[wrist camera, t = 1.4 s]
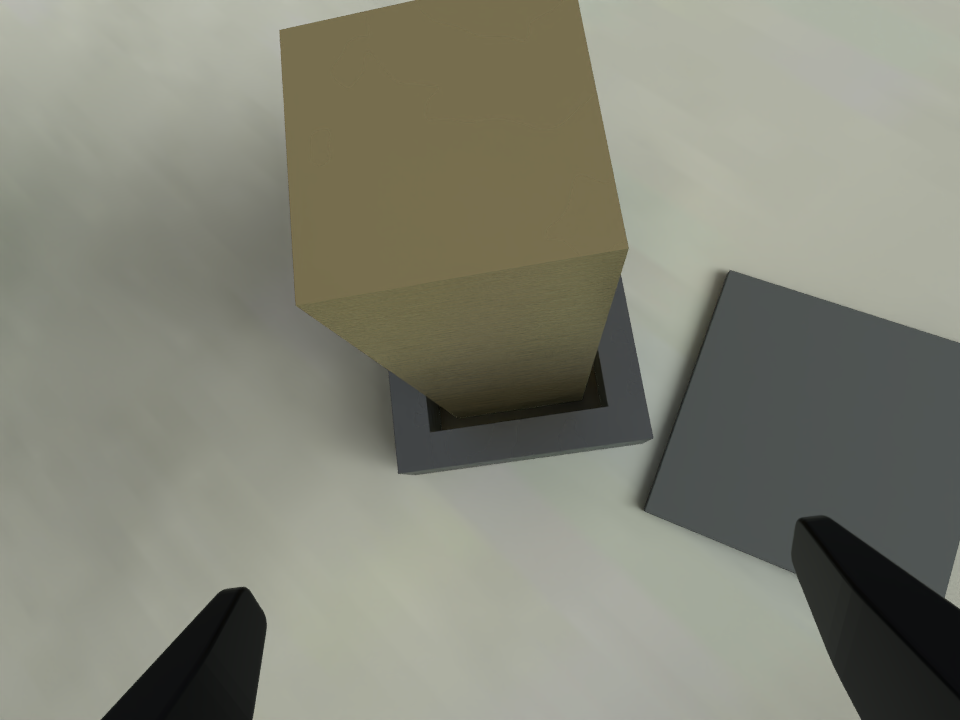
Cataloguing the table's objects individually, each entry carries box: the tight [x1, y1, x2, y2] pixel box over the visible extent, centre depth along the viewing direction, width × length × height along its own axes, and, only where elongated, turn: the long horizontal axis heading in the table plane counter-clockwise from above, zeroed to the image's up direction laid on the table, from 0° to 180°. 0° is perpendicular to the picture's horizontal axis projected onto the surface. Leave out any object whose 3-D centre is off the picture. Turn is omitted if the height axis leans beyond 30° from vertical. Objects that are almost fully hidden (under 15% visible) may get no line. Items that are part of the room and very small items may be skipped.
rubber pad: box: [644, 270, 960, 598], centre depth 21 cm, size 10×10×1 cm
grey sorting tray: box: [388, 275, 653, 475], centre depth 23 cm, size 14×9×3 cm, turn 8°
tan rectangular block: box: [280, 0, 629, 418], centre depth 16 cm, size 5×5×15 cm
